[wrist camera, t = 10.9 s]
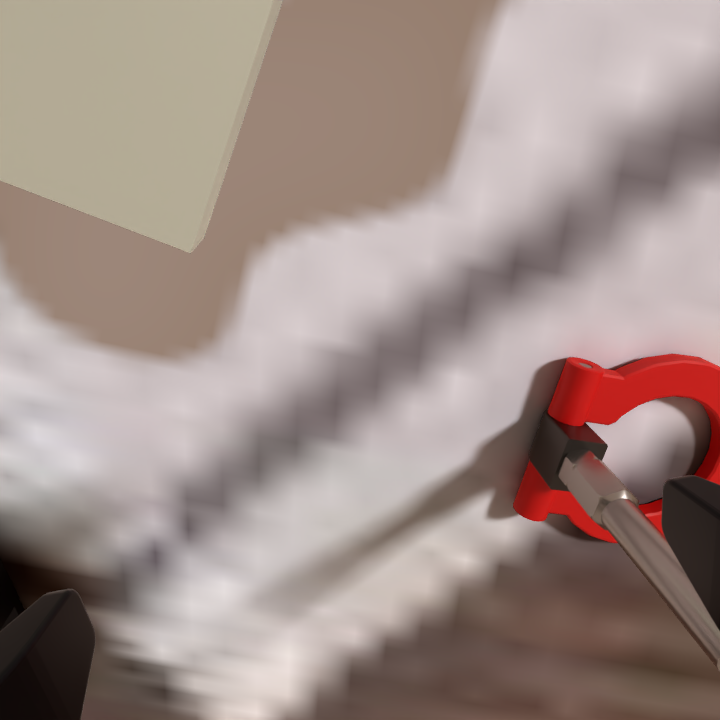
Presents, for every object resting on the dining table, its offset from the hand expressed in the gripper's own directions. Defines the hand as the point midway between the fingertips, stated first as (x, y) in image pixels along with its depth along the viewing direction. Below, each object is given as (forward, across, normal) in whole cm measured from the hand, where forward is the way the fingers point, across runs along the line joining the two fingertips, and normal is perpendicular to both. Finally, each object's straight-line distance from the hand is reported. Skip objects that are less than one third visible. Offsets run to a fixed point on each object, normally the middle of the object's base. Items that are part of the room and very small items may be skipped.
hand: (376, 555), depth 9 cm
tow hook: (+13, -11, +8) cm, 19 cm away
